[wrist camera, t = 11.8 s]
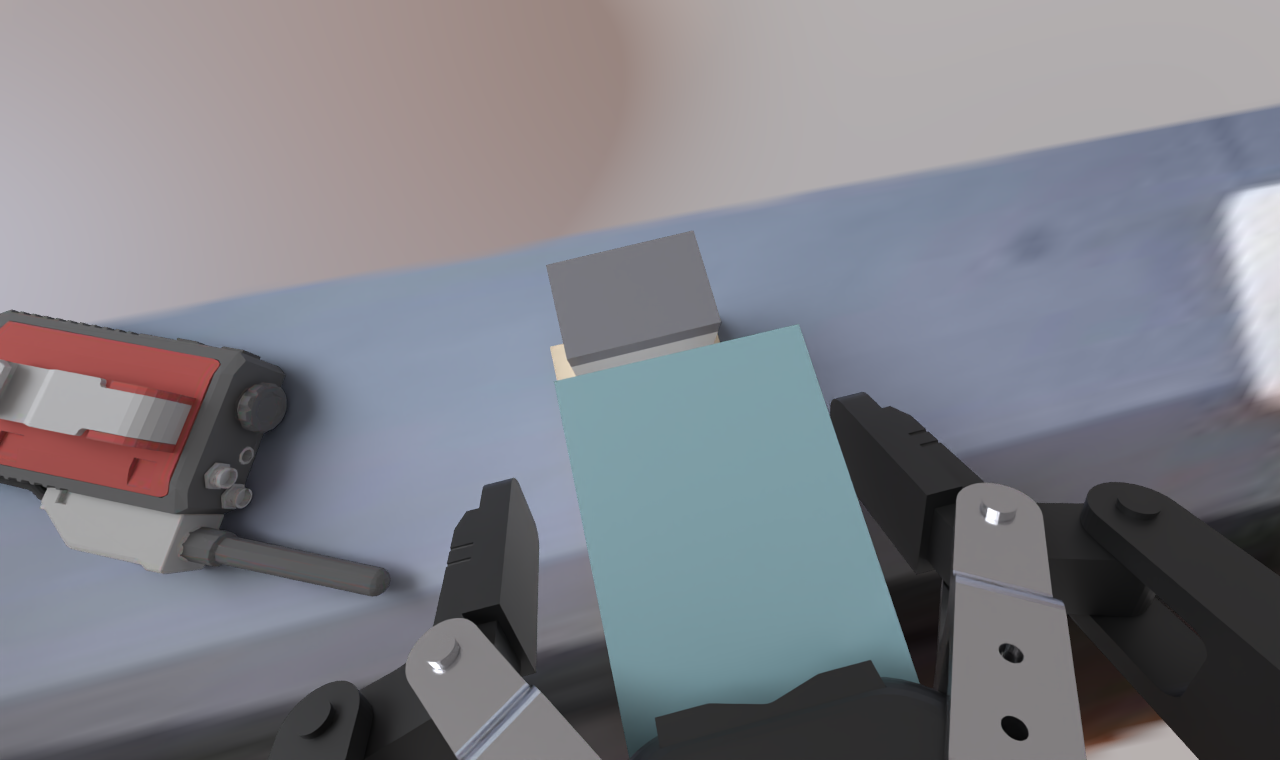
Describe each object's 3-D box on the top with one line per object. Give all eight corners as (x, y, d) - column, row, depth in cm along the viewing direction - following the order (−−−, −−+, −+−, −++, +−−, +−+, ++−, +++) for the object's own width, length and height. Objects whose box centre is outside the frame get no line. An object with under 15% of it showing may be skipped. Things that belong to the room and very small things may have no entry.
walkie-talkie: (-50, 511, 22) (396, 608, 20) (-220, 511, 18) (329, 633, 16) (46, 321, 24) (456, 397, 23) (-85, 279, 20) (410, 369, 18)
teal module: (644, 616, 18) (630, 763, 8) (608, 452, 20) (554, 381, 9) (766, 586, 18) (921, 687, 8) (721, 425, 20) (798, 324, 9)
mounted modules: (676, 776, 17) (687, 913, 11) (576, 333, 21) (545, 265, 15) (806, 740, 17) (884, 857, 11) (682, 307, 21) (693, 230, 15)
